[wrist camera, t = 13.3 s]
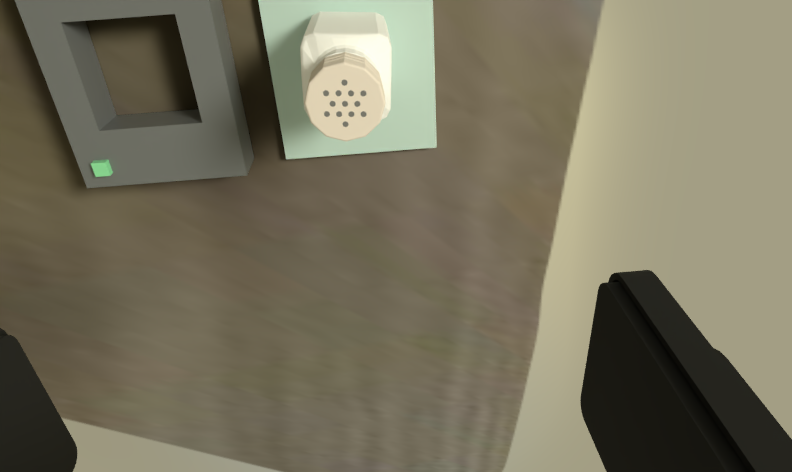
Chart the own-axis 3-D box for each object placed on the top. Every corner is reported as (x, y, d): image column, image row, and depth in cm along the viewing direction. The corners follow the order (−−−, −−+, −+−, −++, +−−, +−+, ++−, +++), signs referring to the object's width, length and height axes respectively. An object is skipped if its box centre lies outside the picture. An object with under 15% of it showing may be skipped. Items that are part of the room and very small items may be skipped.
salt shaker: (385, 86, 31) (394, 151, 23) (313, 85, 31) (297, 151, 23) (386, 10, 29) (396, 52, 21) (309, 9, 29) (289, 51, 21)
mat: (247, -71, 28) (245, -70, 27) (429, -84, 28) (430, -84, 27) (287, 155, 34) (286, 159, 33) (435, 143, 34) (436, 147, 33)
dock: (-33, -209, 24) (-77, -221, 22) (174, -223, 24) (154, -237, 22) (104, 170, 34) (84, 191, 31) (254, 158, 34) (245, 178, 31)
